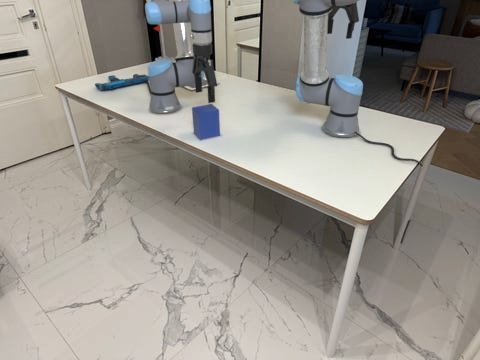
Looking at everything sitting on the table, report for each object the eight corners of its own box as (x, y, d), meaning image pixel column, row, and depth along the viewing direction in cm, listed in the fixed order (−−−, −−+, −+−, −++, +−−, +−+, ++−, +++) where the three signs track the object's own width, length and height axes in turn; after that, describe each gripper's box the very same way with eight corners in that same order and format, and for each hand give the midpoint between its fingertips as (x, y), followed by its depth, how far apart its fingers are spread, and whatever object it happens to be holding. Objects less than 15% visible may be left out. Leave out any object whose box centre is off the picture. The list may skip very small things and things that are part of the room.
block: (212, 129, 152) (211, 103, 145) (220, 135, 146) (219, 109, 140) (193, 133, 148) (191, 107, 142) (200, 140, 142) (198, 113, 136)
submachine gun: (139, 68, 225) (158, 74, 208) (140, 74, 226) (158, 80, 210) (87, 78, 206) (103, 86, 189) (89, 84, 208) (104, 92, 191)
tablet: (163, 78, 216) (163, 77, 215) (189, 72, 227) (189, 71, 226) (191, 90, 195) (191, 90, 195) (219, 83, 206) (219, 83, 206)
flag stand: (172, 63, 247) (168, 18, 231) (176, 67, 237) (171, 20, 221) (154, 64, 243) (148, 19, 227) (158, 69, 233) (151, 21, 217)
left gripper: (181, 38, 137) (186, 89, 149) (205, 51, 119) (208, 108, 130) (199, 36, 140) (202, 86, 152) (225, 49, 121) (226, 105, 133)
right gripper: (321, -17, 159) (315, 32, 170) (360, -13, 140) (351, 41, 152) (333, -17, 162) (327, 31, 173) (373, -14, 143) (363, 39, 155)
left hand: (205, 97), depth 141 cm, fingers open, 13 cm apart
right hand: (338, 36), depth 162 cm, fingers open, 13 cm apart
